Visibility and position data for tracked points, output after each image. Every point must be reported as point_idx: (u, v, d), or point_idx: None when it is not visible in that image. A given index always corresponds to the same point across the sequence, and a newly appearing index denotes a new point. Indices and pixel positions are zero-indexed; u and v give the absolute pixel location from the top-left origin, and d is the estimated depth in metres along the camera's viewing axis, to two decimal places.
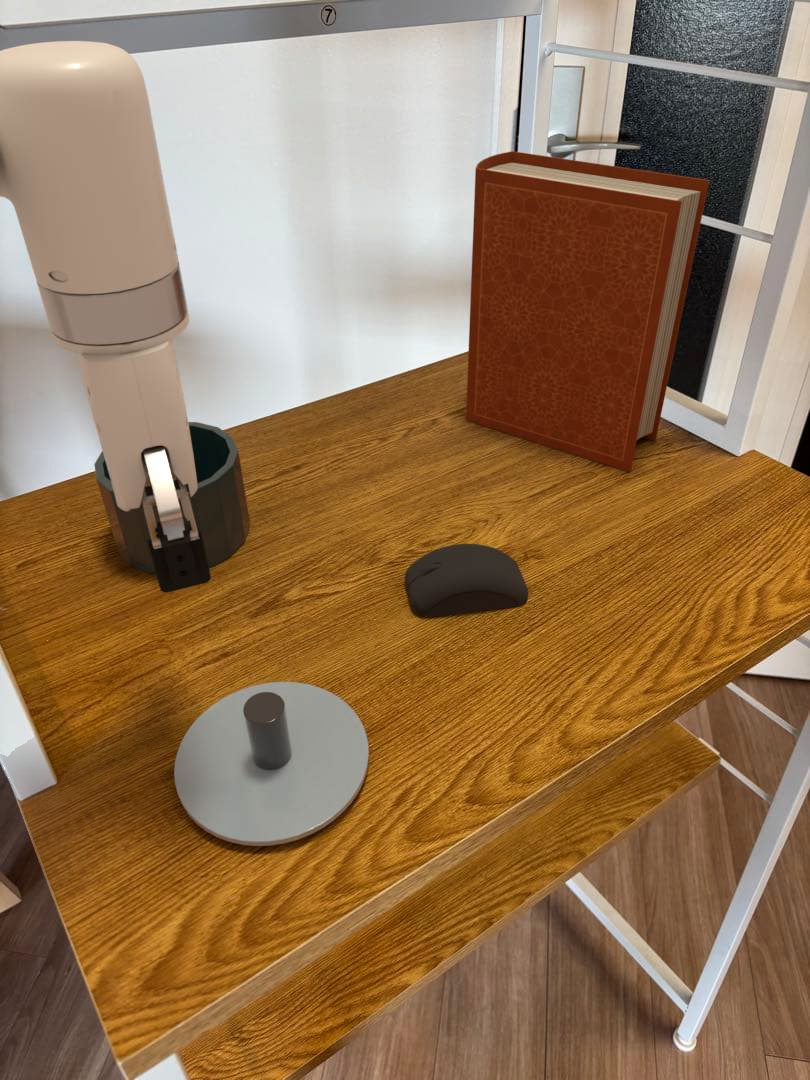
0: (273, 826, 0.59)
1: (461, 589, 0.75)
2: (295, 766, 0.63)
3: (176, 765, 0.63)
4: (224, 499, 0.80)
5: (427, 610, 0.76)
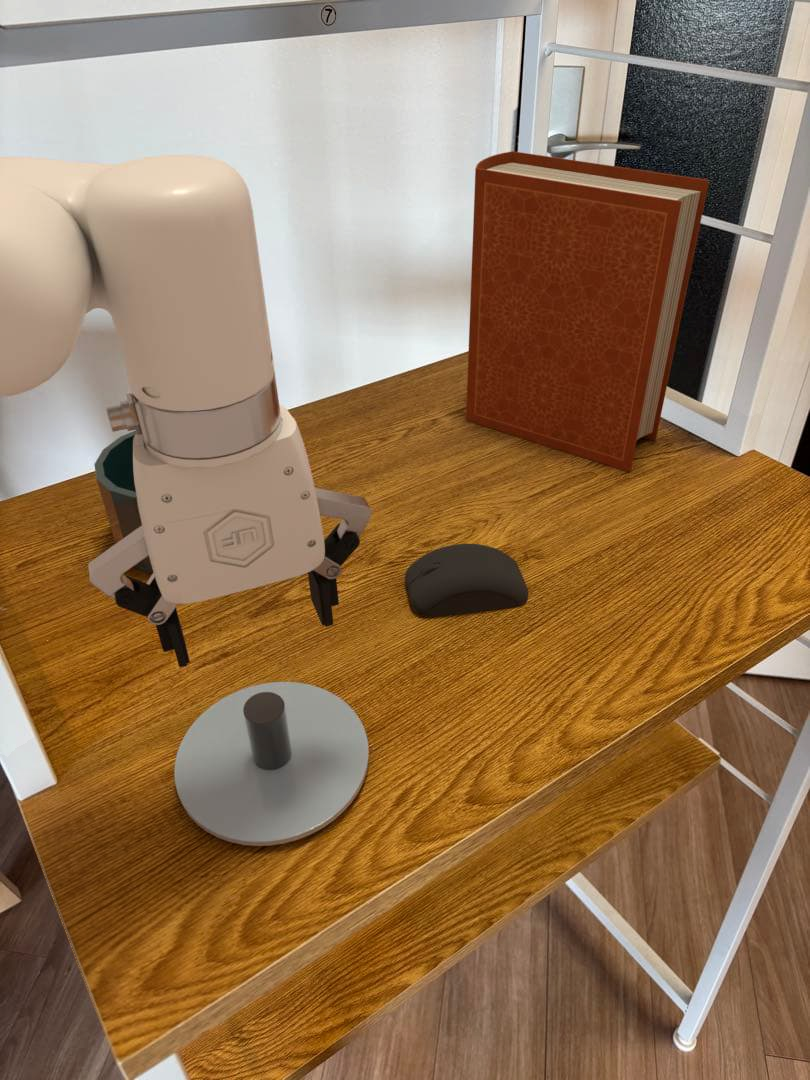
0: (273, 826, 0.59)
1: (461, 589, 0.75)
2: (295, 766, 0.63)
3: (176, 765, 0.63)
4: None
5: (427, 610, 0.76)
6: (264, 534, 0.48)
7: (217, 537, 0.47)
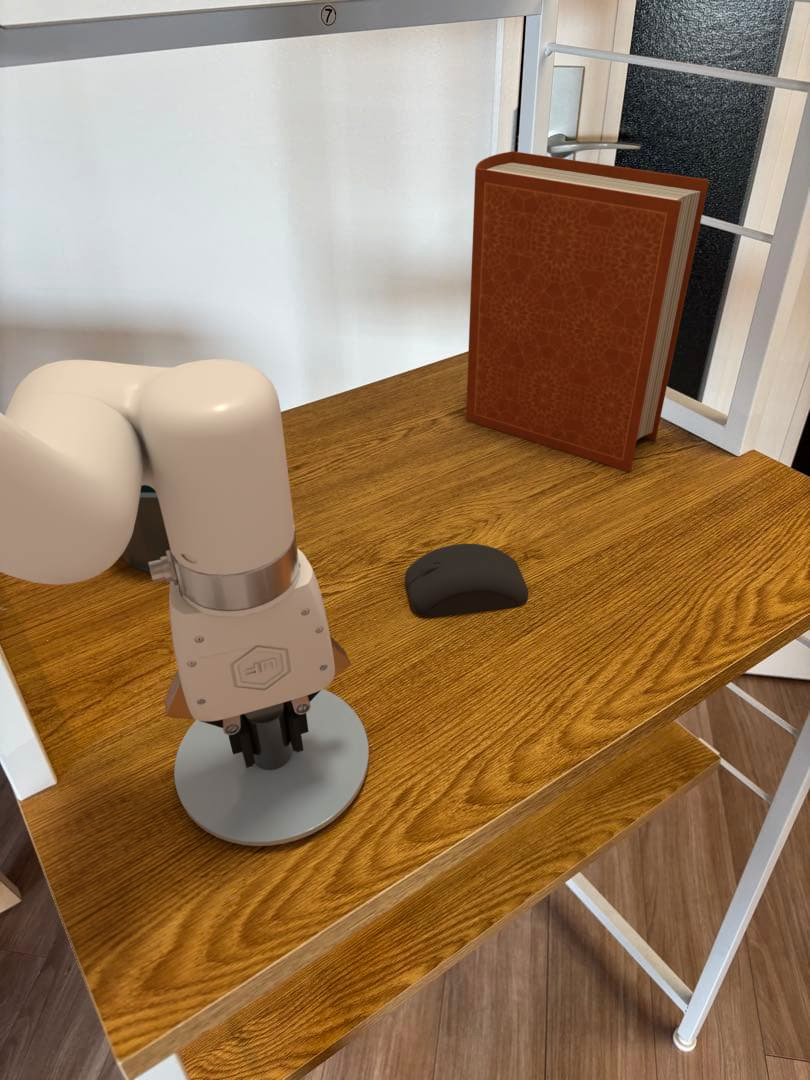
0: (273, 826, 0.59)
1: (461, 589, 0.75)
2: (295, 766, 0.63)
3: (176, 765, 0.63)
4: None
5: (427, 610, 0.76)
6: (282, 663, 0.54)
7: (241, 667, 0.53)
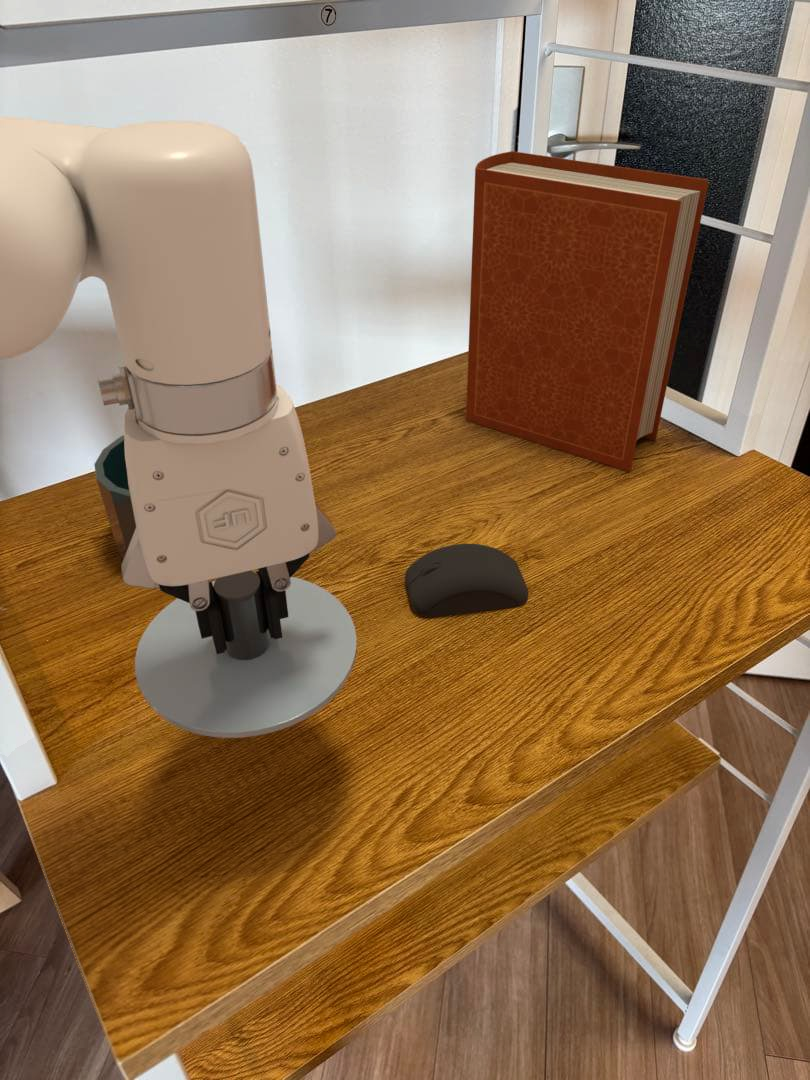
0: (246, 716, 0.51)
1: (461, 589, 0.75)
2: (273, 656, 0.55)
3: (137, 654, 0.55)
4: None
5: (427, 610, 0.76)
6: (257, 516, 0.47)
7: (209, 517, 0.46)
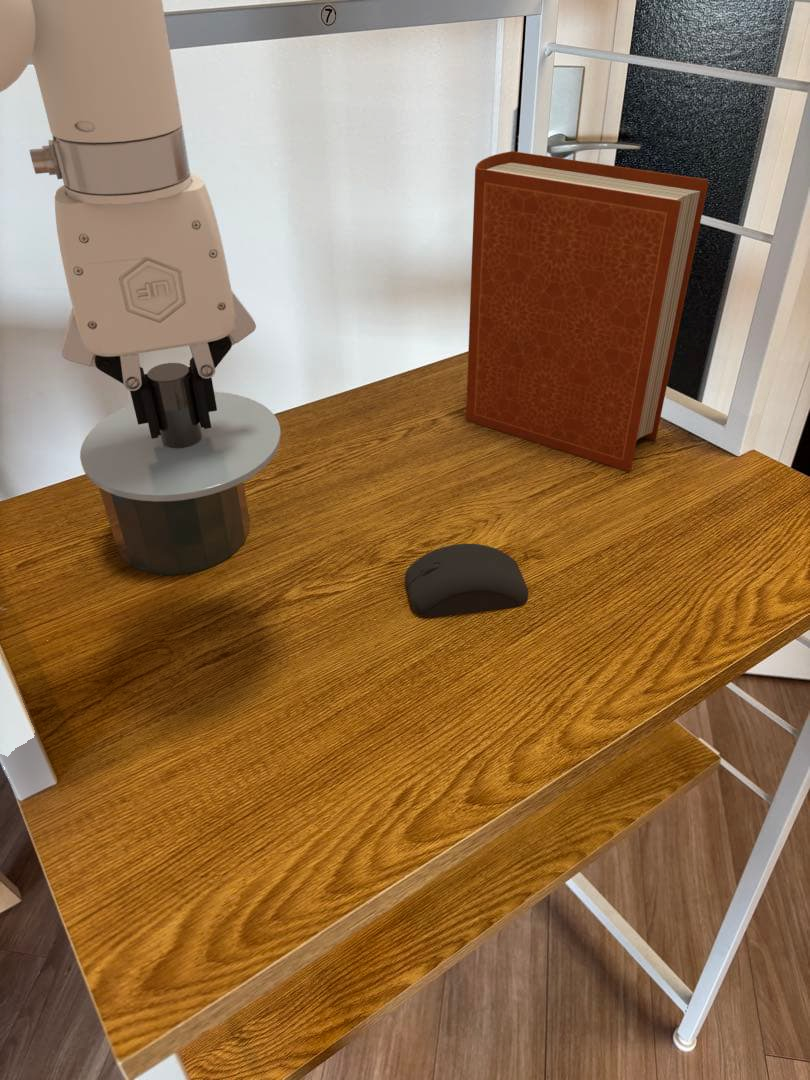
0: (174, 484, 0.58)
1: (461, 589, 0.75)
2: (203, 446, 0.62)
3: (83, 444, 0.62)
4: (224, 499, 0.80)
5: (427, 610, 0.76)
6: (176, 289, 0.53)
7: (132, 286, 0.52)
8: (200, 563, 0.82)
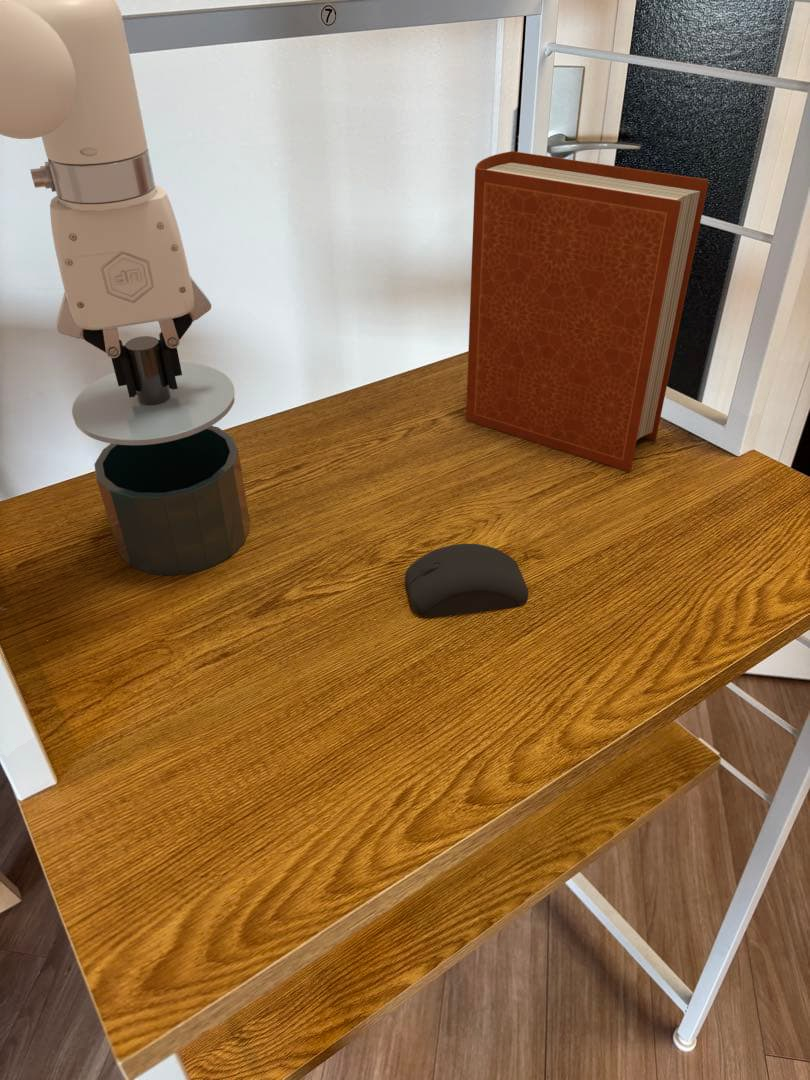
0: (147, 432, 0.73)
1: (461, 589, 0.75)
2: (172, 403, 0.76)
3: (74, 403, 0.77)
4: (224, 499, 0.80)
5: (427, 610, 0.76)
6: (146, 276, 0.68)
7: (111, 274, 0.67)
8: (200, 563, 0.82)
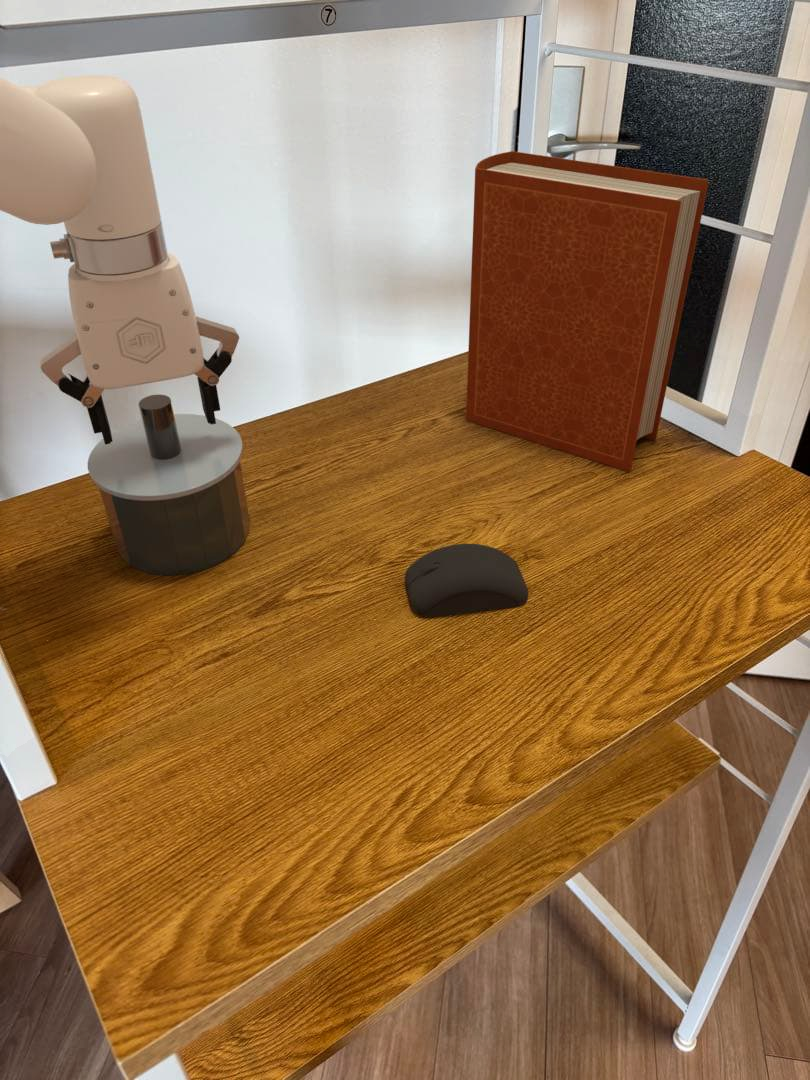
0: (160, 488, 0.76)
1: (461, 589, 0.75)
2: (182, 457, 0.80)
3: (89, 457, 0.80)
4: (224, 499, 0.80)
5: (427, 610, 0.76)
6: (158, 339, 0.71)
7: (125, 338, 0.70)
8: (200, 563, 0.82)
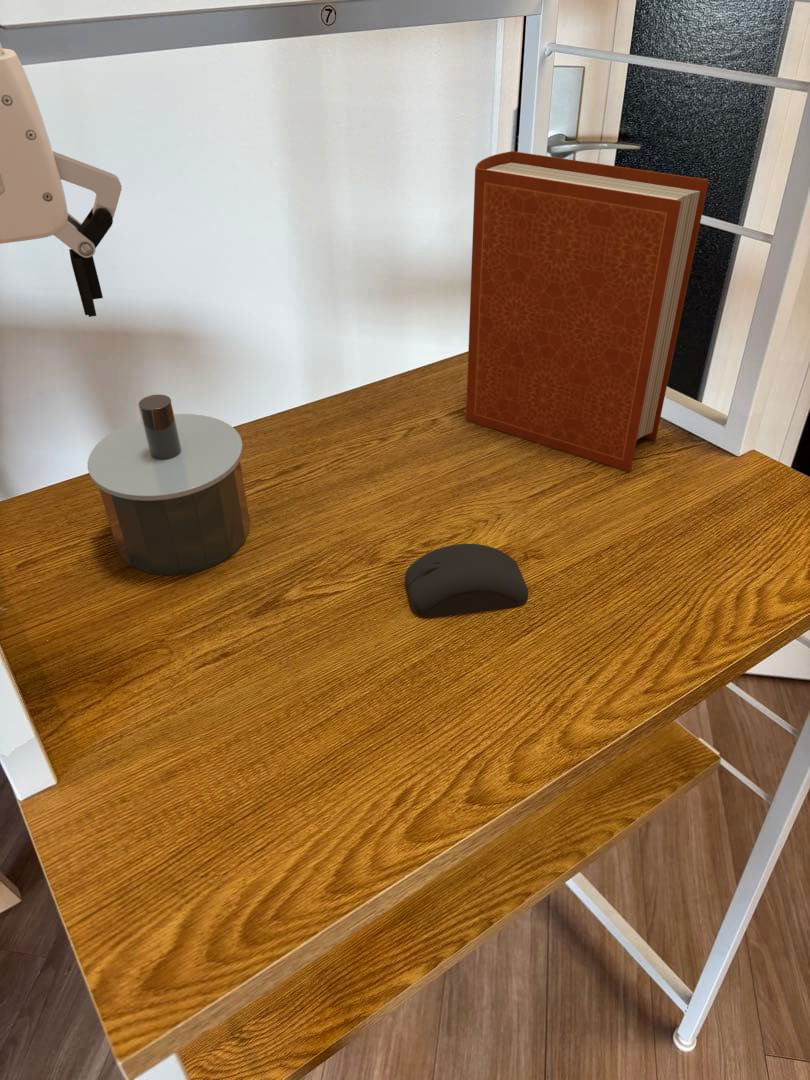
0: (160, 488, 0.76)
1: (461, 589, 0.75)
2: (182, 457, 0.80)
3: (89, 457, 0.80)
4: (224, 499, 0.80)
5: (427, 610, 0.76)
6: None
7: None
8: (200, 563, 0.82)
